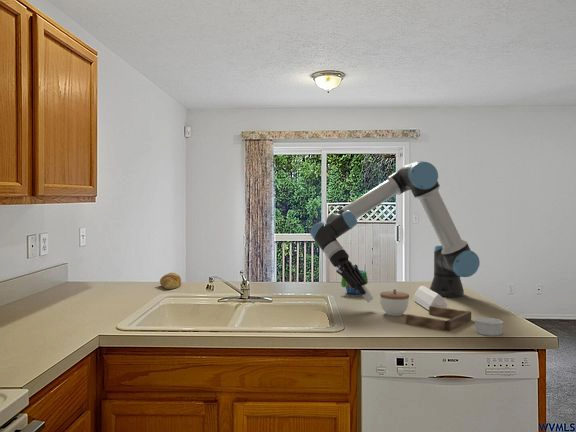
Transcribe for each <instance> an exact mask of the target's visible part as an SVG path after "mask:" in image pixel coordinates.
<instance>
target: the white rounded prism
mask: <svg viewBox="0 0 576 432" xmlns="http://www.w3.org/2000/svg"><path fill="white" fill-rule="evenodd" d="M413 301H414V302H416V303H417V304H419V305H420V306H421V307H423V308H425V309H426V310H427V311H429V306H437V307H443V308H448V304H447V302H446V301H445V298H444V296H440V295H439V294H438V293H436V292H434V291H432V290H430V288H428V287H426V286H425V285H420V286H419V287H418V288H417V289H416V292H415V293H414V295H413Z"/></svg>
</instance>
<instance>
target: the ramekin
mask: <svg viewBox="0 0 576 432" xmlns="http://www.w3.org/2000/svg"><path fill="white" fill-rule="evenodd" d="M474 324H475V325H474V326H475V332H476V333H477V334H479V335H483V336H489V337H496V336H498V337H499V336H500V335H502V334H503V325H504V320H502V319H499V318H494V317H489V316H488V317H487V316H485V317H484V316H481V317H475V318H474Z"/></svg>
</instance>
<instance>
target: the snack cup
mask: <svg viewBox="0 0 576 432" xmlns="http://www.w3.org/2000/svg"><path fill="white" fill-rule="evenodd" d="M359 271H360V273H361V274H362V276H363V278H364V279H365V281H366V284H365V285H368V284H369V283H368V273H367V271H366V270H361V269H359ZM340 282H341V284H340V285H341V287H342V288H345V292H347V294H352V295H359V294H361V293H360V292H359V290H358V289H357V290H355V289H356V288H352V287H351V286H350V285H349V284H348V282H347V281H346V280H345V279H344V278H343V277H342V276H341V281H340Z"/></svg>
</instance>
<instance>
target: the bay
mask: <svg viewBox="0 0 576 432" xmlns="http://www.w3.org/2000/svg"><path fill="white" fill-rule="evenodd" d="M428 315H433V316H437V317H438V316H439V317H446V318H449V319H447V320H445V319H439V318H434V317H433V318H432V317H427V316H422V315H421V316H419V315H415V314H408V313H407V314H405V324H408V325H412V326H419V327H422V328H423V327H425V328H429V329H430V328H431V329H433V330H434V329H435V330H440V331H445V330H447V331H446V332H449V331H450V332H451V331H452V330H455V329H456V328H458V327H461V326H462V325H464V324H467V323H469V322H470V321H472V311H470V310H461V309H454V308H449V307H447V308H443V307H437V306H429V310H428Z"/></svg>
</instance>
